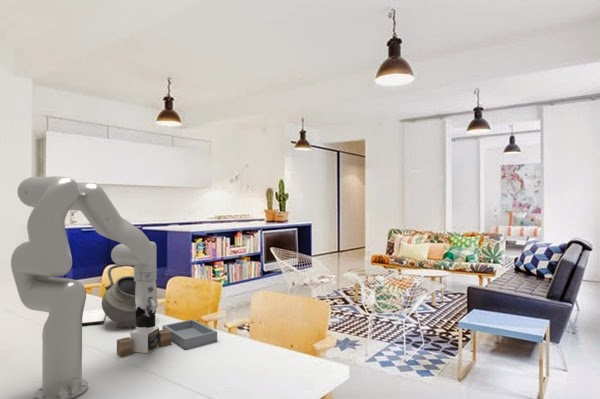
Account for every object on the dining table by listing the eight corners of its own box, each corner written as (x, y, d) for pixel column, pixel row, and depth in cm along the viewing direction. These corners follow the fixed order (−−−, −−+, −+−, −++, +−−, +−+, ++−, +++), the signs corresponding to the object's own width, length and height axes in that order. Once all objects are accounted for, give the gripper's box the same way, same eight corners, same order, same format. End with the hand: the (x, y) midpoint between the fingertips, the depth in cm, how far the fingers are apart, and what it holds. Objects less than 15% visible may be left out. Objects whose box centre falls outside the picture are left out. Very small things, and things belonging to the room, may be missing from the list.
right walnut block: (171, 344, 148) (171, 331, 148) (160, 347, 145) (160, 333, 145) (167, 341, 151) (167, 328, 151) (156, 344, 148) (156, 330, 148)
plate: (103, 325, 171) (103, 320, 171) (52, 330, 164) (52, 325, 164) (106, 313, 188) (106, 308, 188) (61, 317, 181) (61, 312, 181)
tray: (217, 341, 152) (217, 331, 152) (184, 350, 143) (184, 339, 143) (193, 328, 167) (193, 319, 167) (162, 335, 158) (162, 325, 158)
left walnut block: (132, 354, 139) (132, 340, 139) (120, 357, 136) (120, 342, 136) (128, 351, 142) (128, 337, 142) (116, 353, 139) (116, 339, 139)
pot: (104, 319, 178) (104, 263, 178) (153, 314, 185) (154, 260, 185) (98, 334, 158) (99, 271, 158) (154, 328, 166) (154, 268, 166)
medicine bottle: (148, 353, 139) (148, 319, 139) (129, 352, 141) (130, 318, 141) (159, 346, 146) (159, 313, 146) (141, 344, 148) (141, 312, 148)
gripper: (165, 278, 139) (165, 327, 140) (146, 271, 152) (146, 316, 153) (143, 281, 135) (143, 332, 135) (126, 273, 148) (126, 320, 148)
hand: (145, 323), depth 144 cm, fingers open, 9 cm apart
